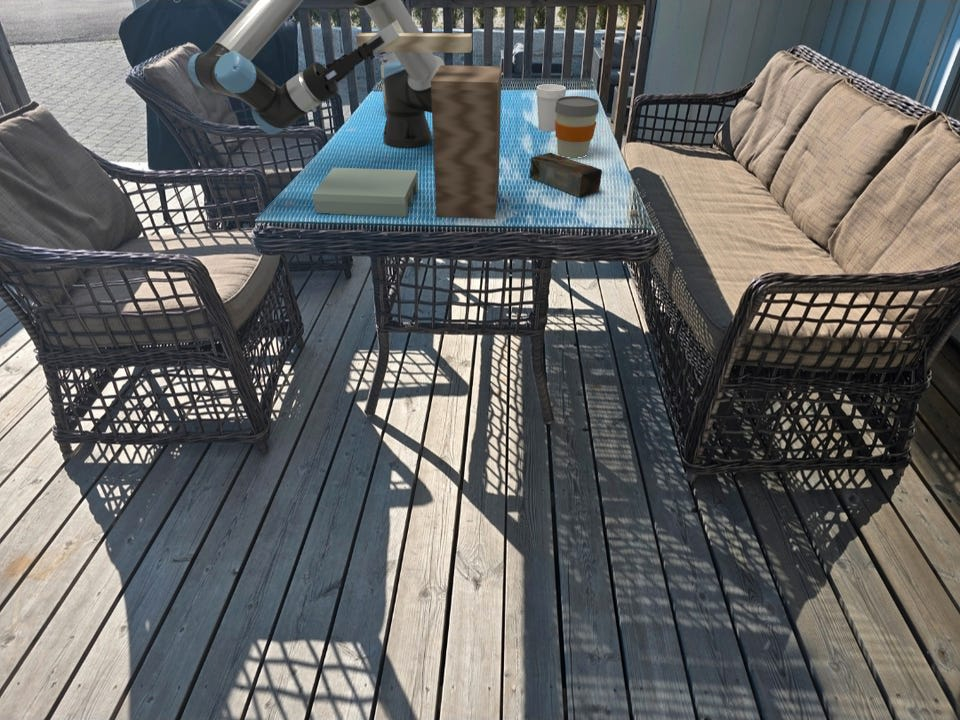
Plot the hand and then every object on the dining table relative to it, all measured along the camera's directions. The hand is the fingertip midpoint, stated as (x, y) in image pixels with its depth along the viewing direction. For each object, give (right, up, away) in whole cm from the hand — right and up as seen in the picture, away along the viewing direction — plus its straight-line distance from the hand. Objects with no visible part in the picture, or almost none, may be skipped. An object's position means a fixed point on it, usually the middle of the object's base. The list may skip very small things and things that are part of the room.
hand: (397, 28), depth 125 cm
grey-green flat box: (-11, -30, +25) cm, 40 cm away
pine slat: (+3, -3, +2) cm, 5 cm away
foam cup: (+40, +8, +76) cm, 86 cm away
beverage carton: (+40, -23, +35) cm, 58 cm away
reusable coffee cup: (+45, -7, +55) cm, 72 cm away
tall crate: (+14, -31, +23) cm, 41 cm away
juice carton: (-12, +18, +88) cm, 91 cm away
